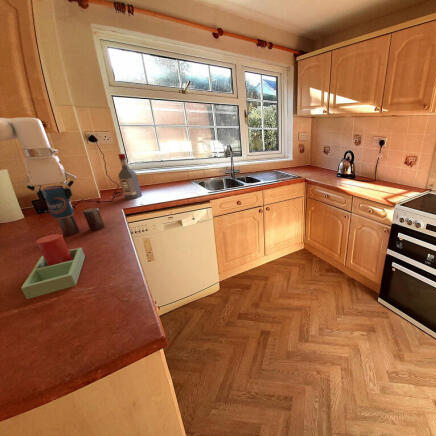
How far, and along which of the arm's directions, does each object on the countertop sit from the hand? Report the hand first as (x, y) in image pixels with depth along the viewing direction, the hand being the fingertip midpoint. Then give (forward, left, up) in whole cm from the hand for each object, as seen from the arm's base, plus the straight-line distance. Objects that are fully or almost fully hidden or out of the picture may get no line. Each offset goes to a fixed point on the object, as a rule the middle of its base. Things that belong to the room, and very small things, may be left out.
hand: (57, 199), depth 96 cm
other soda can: (-1, -20, -21) cm, 29 cm away
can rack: (-1, -25, -21) cm, 33 cm away
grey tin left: (-4, +20, -21) cm, 29 cm away
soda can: (0, 0, -7) cm, 7 cm away
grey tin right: (+6, +20, -21) cm, 30 cm away
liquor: (+23, +74, -22) cm, 80 cm away
